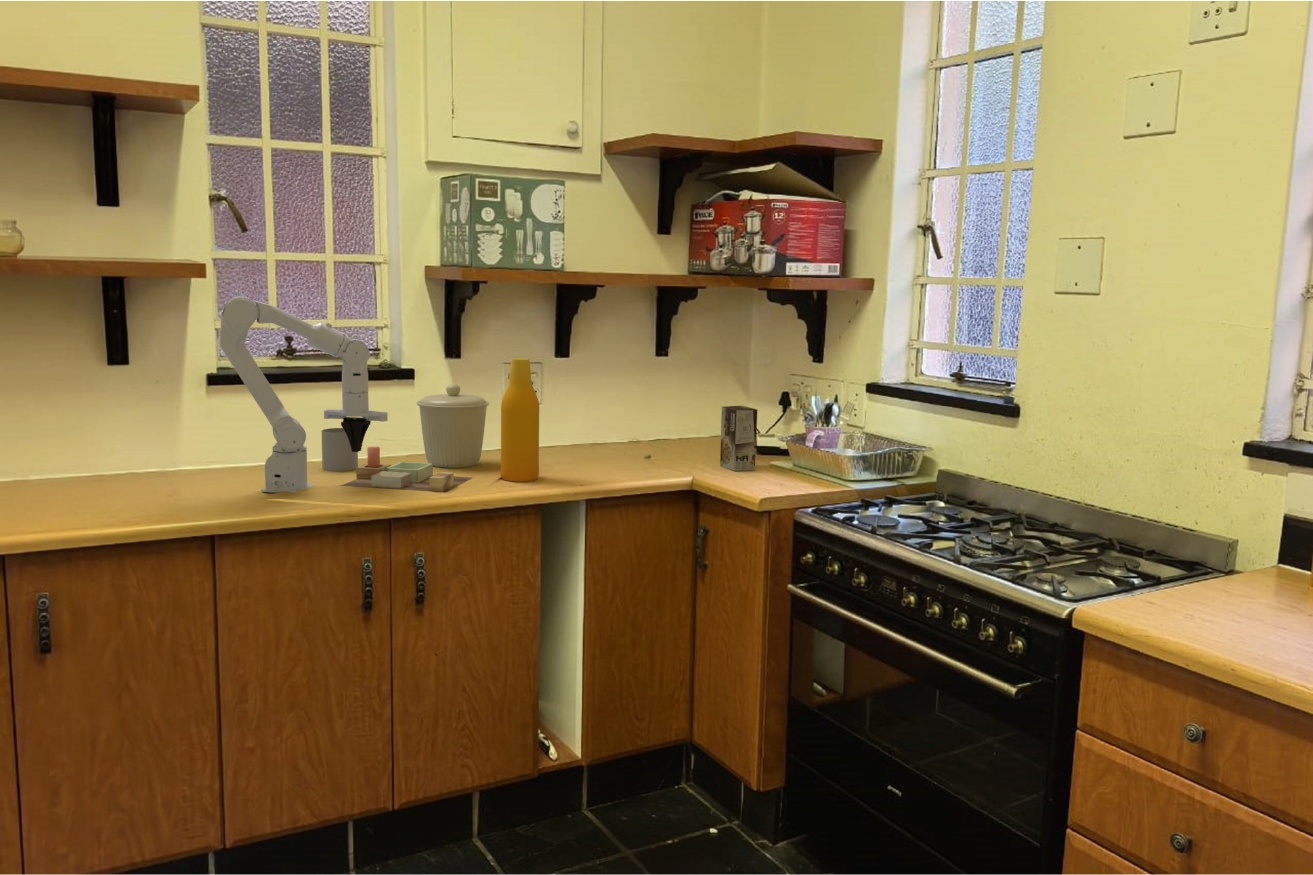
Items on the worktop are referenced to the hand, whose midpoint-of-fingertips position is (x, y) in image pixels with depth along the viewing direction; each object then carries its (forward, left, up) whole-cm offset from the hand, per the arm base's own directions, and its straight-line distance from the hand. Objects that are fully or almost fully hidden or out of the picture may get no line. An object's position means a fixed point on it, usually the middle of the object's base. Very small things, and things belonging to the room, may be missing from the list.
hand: (356, 451), depth 239 cm
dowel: (+8, 0, -7) cm, 11 cm away
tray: (+9, -9, -7) cm, 15 cm away
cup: (+16, +12, -8) cm, 22 cm away
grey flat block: (0, -8, -7) cm, 11 cm away
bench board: (+5, -10, -8) cm, 14 cm away
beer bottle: (+19, -33, -8) cm, 39 cm away
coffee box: (+50, -83, -8) cm, 97 cm away
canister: (+30, -12, -8) cm, 33 cm away
